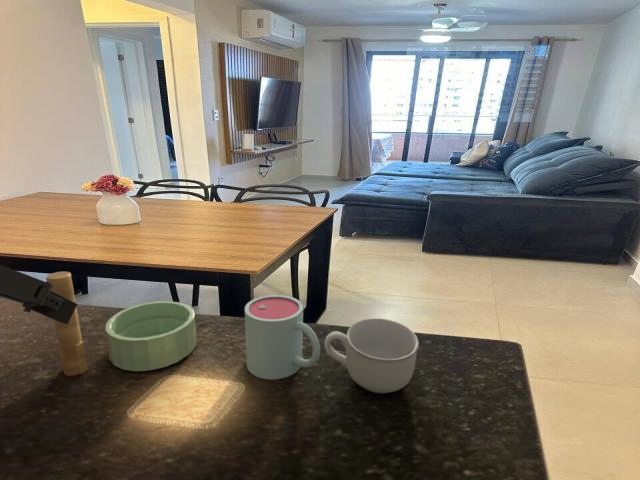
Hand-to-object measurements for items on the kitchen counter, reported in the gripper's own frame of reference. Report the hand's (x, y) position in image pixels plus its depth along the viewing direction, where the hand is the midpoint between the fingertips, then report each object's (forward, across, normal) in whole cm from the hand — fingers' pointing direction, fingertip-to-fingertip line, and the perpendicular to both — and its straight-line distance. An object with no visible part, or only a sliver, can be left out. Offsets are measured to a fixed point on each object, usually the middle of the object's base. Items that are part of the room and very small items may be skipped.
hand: (27, 307), depth 51 cm
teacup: (+20, +45, +1) cm, 49 cm away
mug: (+20, +31, +1) cm, 37 cm away
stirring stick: (+13, 0, -6) cm, 14 cm away
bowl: (+19, +8, 0) cm, 21 cm away
